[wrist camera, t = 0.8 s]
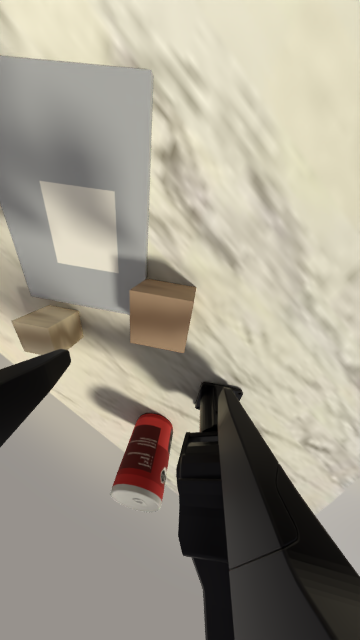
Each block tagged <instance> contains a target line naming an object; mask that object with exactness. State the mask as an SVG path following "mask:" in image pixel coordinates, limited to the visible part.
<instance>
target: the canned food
mask: <svg viewBox="0 0 360 640" xmlns="http://www.w3.org/2000/svg"><path fill="white" fill-rule="evenodd" d="M172 435H173V427H172V424H171V423H170V421H169V420H167V419H166V418H165V417H163V416H161V415H158V414H153V413H147V414H144V415H142V416H140V417H139V419H138V420H137V422H136V425H135V427H134V430H133V433H132V435H131V438H130V441H129V443H128V446H127V448H126V451H125V454H124V456H123V459H122V462H121V464H120V467H119V470H118V472H117V475H116V478H115V481H114V484H113V486H112V491H111V493H110V495H111V497H112V498H113V499H114V500H115V501H117V502H118V503H119V504H121V505H123V506H126V507H128V508H131V509H134V510H138V511H143V512H156V511H158V510H160V508H161V504H162V498H163V493H164V486H165V480H166V473H167V467H168V461H169V454H170V448H171V441H172Z"/></svg>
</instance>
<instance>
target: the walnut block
mask: <svg viewBox="0 0 360 640" xmlns="http://www.w3.org/2000/svg"><path fill="white" fill-rule="evenodd" d="M129 291H130V343H135V344H140V345H145V346H150V347H155V348H160V349H165V350H170V351H175V352H180V353H184V351H185V345H186V340H187V335H188V330H189V325H190V319H191V314H192V309H193V304H194V298H195V292H196V287H192V286H187V285H181V284H175V283H169V282H164V281H158V280H152V279H145V280H144V281H142V282H141V283H139V284H138V285H136V286H135V287H133V288H132V289H131V290H129Z"/></svg>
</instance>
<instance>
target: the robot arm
mask: <svg viewBox="0 0 360 640" xmlns="http://www.w3.org/2000/svg"><path fill="white" fill-rule="evenodd" d="M70 363H71V358H70V354H69V351H68V350H65V349H58V350H55V351H52V352H49V353H46V354H44V355H41V356H38V357H35V358H32V359H29V360H26V361H23V362H20V363H18V364H15V365H12V366H9V367H6V368H3V369H1V370H0V447H1V446H2V445H3V443H5V441H6V440H7V439H8V438H9V437H10V436H11V435H12V433H13V432H14V431H15V430H16V429H17V428H18V427H19V426H20V424H21V423H22V422H23V421H24V420H25V419H26V418H27V417H28V415H29V414H30V413H31V412H32V411H33V410H34V409H35V407H36V406H37V405H38V404H39V403H40V402H41V401H42V400H43V398H44V397H45V396H46V395H47V394H48V393H49V392H50V390H51V389H52V388H53V387H54V385H55V384H56V383H57V381H58V380H59V379H60V377H61V376H62V375H63V373H64V372H65V371H66V369H67V368H68V367H69V365H70ZM242 395H243V392H242V390H240V389H236V388H231V387H226V386H221V385H216V384H212V383H207V382H203V383H202V384H201V388H200V391H199V394H198V398H197V401H196V404H195V408H196V409H199V410H200V432H195V433H190V432H186V435H185V438H184V442H183V445H182V449H181V453H180V457H179V461H178V465H177V469H176V472H177V474H176V477H177V487H178V492H179V504H180V509H179V531H178V537H179V541H180V546H181V550H182V554H183V555H184V556H187V557H192V560H193V563H194V565H195V568H196V571H197V574H198V577H199V580H200V582H201V585H202V589H203V598H204V614H205V635H206V640H360V576H359V575H358V574H357V572H356V571H355V570H354V568H353V567H352V566H351V564H350V563H349V562H348V560H347V559H346V558H345V556H344V555H343V553H342V552H341V551H340V549H339V548H338V547H337V545H336V544H335V542H334V541H333V540H332V539H331V537H330V536H329V534H328V533H327V532H326V530H325V529H324V527H323V526H322V525H321V523H320V522H319V521H318V519H317V518H316V516H315V515H314V514H313V512H312V511H311V510H310V508H309V507H308V505H307V504H306V502H305V501H304V500H303V498H302V497H301V495H300V494H299V493H298V491H297V490H296V488H295V487H294V485H293V484H292V482H291V481H290V479H289V478H288V476H287V475H286V473H285V472H284V470H283V468H282V467H281V465H280V464H278V461H277V459H276V458H275V456H274V455H273V453H272V452H271V450H270V448H269V447H268V445H267V444H266V442H265V441H264V439H263V438H262V436H261V435H260V433H259V431H258V430H257V428H256V427H255V425H254V424H253V422H252V421H251V419H250V417H249V416H248V414H247V413H246V411H245V410H244V408H243V407H242V405H241V404H240V402H239V401H240V399H241V397H242Z"/></svg>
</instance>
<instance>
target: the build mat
mask: <svg viewBox="0 0 360 640" xmlns="http://www.w3.org/2000/svg"><path fill="white" fill-rule="evenodd" d="M152 102H153V74H152V70H147V69H136V68H126V67H115V66H104V65H94V64H83V63H72V62H62V61H51V60H40V59H30V58H19V57H8V56H0V204H1V207H2V210H3V213H4V216H5V219H6V222H7V225H8V228H9V231H10V234H11V237H12V240H13V243H14V246H15V249H16V252H17V255H18V258H19V261H20V264H21V267H22V270H23V273H24V276H25V279H26V282H27V285H28V288H29V291H30V294H31V296H33V297H38V298H43V299H49V300H54V301H59V302H65V303H70V304H75V305H81V306H86V307H91V308H97V309H102V310H107V311H113V312H118V313H123V314H129V315H130V291H129V290H131V289H132V288H133V287H135V286H136V285H138V284H139V283H141V282H142V281H144V280H145V279H146V278H147V249H148V220H149V190H150V161H151V131H152Z"/></svg>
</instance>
